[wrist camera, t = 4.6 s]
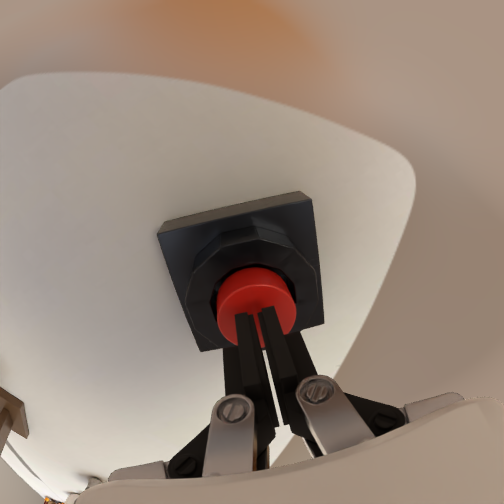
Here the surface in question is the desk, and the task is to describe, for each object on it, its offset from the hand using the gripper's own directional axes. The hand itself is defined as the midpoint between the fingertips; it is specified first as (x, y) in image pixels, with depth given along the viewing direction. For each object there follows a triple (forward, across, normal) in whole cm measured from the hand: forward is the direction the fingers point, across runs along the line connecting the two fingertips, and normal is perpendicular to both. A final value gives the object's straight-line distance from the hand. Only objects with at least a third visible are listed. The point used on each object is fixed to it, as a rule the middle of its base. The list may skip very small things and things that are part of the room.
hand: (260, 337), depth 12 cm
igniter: (+6, 0, 0) cm, 6 cm away
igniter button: (+3, 0, 0) cm, 3 cm away
